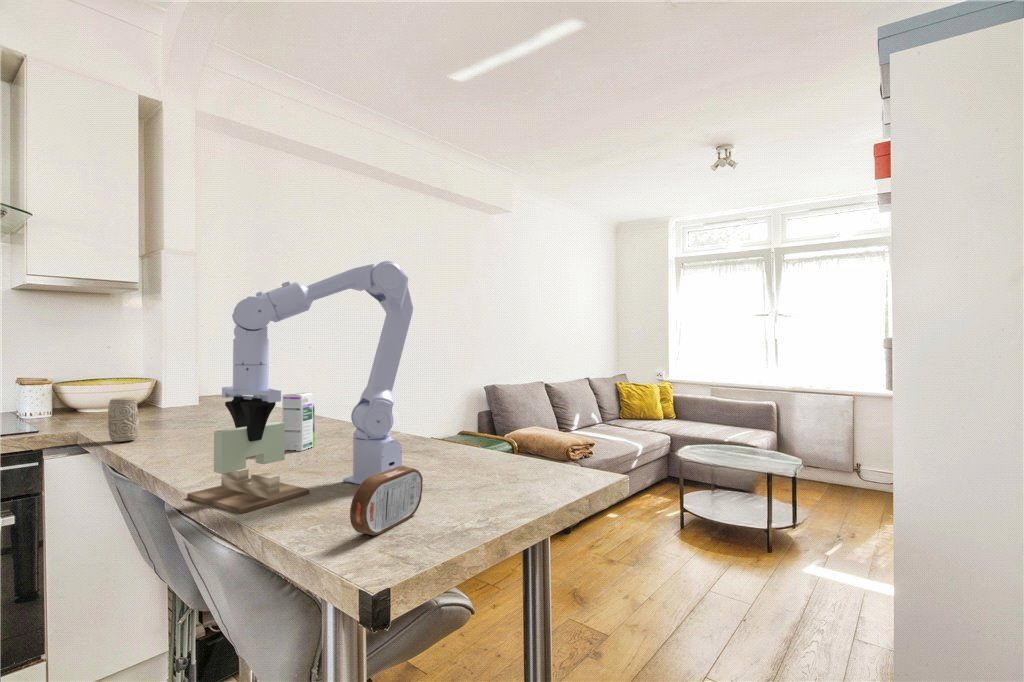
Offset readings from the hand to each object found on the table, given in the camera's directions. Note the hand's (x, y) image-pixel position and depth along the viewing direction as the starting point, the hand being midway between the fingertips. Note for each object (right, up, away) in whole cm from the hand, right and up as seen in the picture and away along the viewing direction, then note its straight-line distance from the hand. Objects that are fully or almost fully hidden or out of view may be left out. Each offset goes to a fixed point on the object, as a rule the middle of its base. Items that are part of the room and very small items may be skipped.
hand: (250, 439), depth 91 cm
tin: (+29, -11, -14) cm, 34 cm away
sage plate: (0, -5, 0) cm, 5 cm away
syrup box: (-8, -10, +40) cm, 42 cm away
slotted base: (0, -10, 0) cm, 10 cm away
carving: (-59, -10, +47) cm, 77 cm away
